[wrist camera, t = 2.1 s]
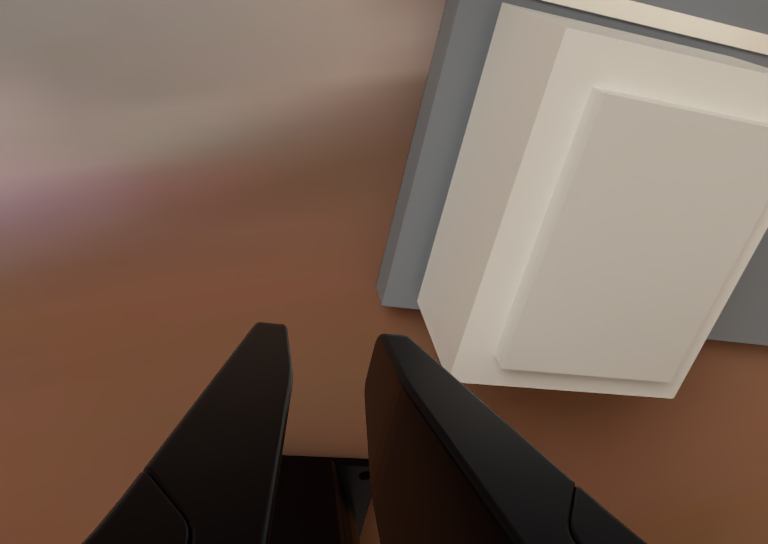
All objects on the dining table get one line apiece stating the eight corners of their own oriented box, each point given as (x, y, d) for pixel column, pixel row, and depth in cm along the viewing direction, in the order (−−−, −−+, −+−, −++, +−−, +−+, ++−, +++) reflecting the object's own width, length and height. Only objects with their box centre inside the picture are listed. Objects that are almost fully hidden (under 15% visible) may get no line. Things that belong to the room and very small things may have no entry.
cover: (609, 322, 22) (685, 412, 18) (416, 301, 20) (453, 397, 16) (731, 56, 18) (864, 98, 14) (501, 2, 16) (579, 32, 12)
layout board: (781, 331, 26) (805, 350, 24) (376, 286, 21) (382, 307, 20) (1167, -298, 16) (1233, -314, 15) (591, -589, 12) (624, -639, 11)
